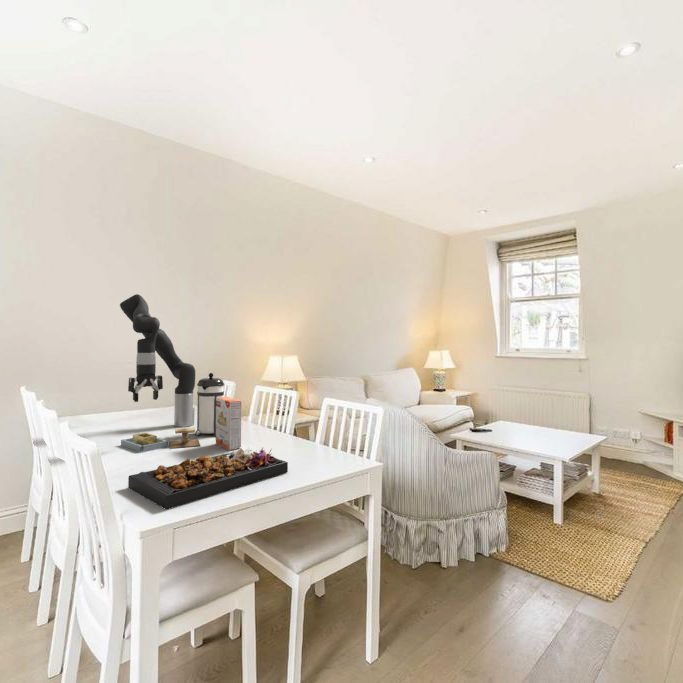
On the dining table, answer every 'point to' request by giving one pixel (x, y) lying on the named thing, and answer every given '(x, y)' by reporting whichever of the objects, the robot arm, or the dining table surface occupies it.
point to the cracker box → (228, 423)
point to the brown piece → (184, 439)
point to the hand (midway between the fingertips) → (145, 400)
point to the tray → (140, 448)
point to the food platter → (205, 477)
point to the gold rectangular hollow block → (144, 439)
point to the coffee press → (208, 403)
